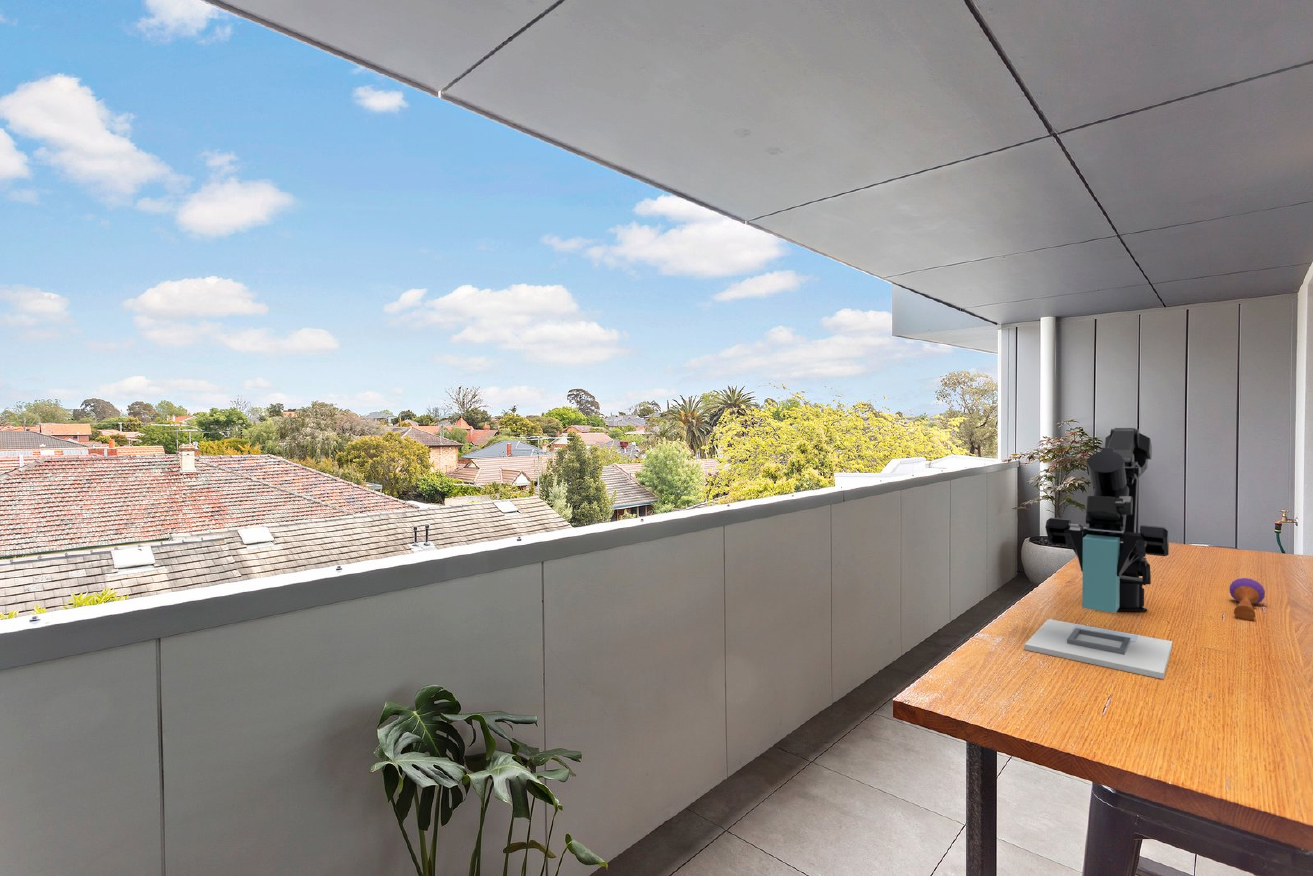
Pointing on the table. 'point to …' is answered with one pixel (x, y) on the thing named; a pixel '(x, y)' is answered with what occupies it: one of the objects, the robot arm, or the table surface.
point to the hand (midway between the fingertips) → (1099, 572)
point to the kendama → (1246, 597)
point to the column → (1101, 573)
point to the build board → (1102, 647)
